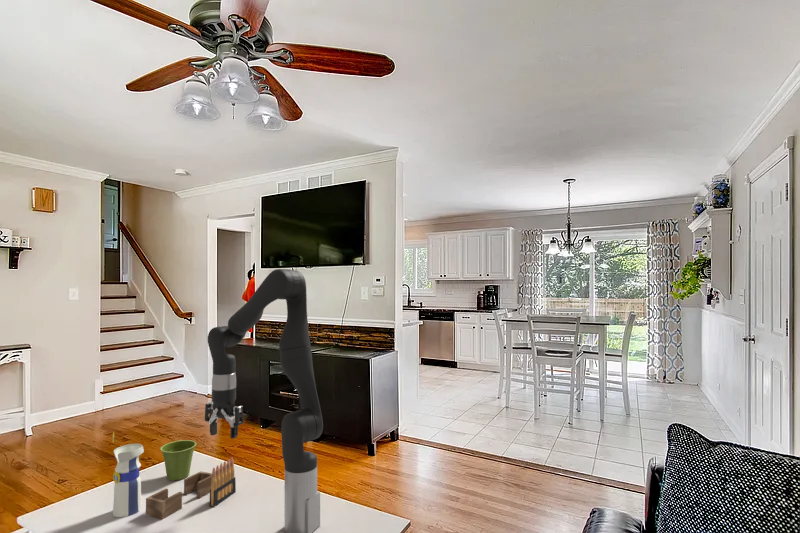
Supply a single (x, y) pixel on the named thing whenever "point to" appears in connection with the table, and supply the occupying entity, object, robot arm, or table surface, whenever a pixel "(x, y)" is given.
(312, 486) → the robot arm
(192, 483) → the end cap
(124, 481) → the water bottle
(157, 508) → the end cap
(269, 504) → the table surface
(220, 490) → the ammunition clip
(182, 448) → the plant pot
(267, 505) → the table surface
